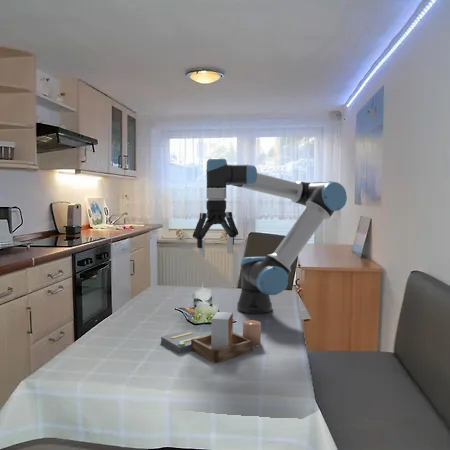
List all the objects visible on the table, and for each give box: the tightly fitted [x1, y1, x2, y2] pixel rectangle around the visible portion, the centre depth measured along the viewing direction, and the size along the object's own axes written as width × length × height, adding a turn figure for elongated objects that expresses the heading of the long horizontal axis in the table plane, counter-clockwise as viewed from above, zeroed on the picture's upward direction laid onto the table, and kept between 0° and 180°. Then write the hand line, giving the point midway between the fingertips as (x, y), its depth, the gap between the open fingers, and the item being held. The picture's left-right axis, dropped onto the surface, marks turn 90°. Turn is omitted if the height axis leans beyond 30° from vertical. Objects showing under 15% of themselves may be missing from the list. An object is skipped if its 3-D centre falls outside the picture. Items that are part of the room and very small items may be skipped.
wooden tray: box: [191, 331, 254, 364], centre depth 131 cm, size 15×13×4 cm
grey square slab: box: [160, 329, 204, 354], centre depth 137 cm, size 12×12×3 cm
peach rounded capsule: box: [242, 319, 262, 347], centre depth 138 cm, size 6×6×7 cm
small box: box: [210, 311, 234, 350], centre depth 131 cm, size 8×6×10 cm
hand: (216, 255), depth 156 cm, fingers open, 13 cm apart
